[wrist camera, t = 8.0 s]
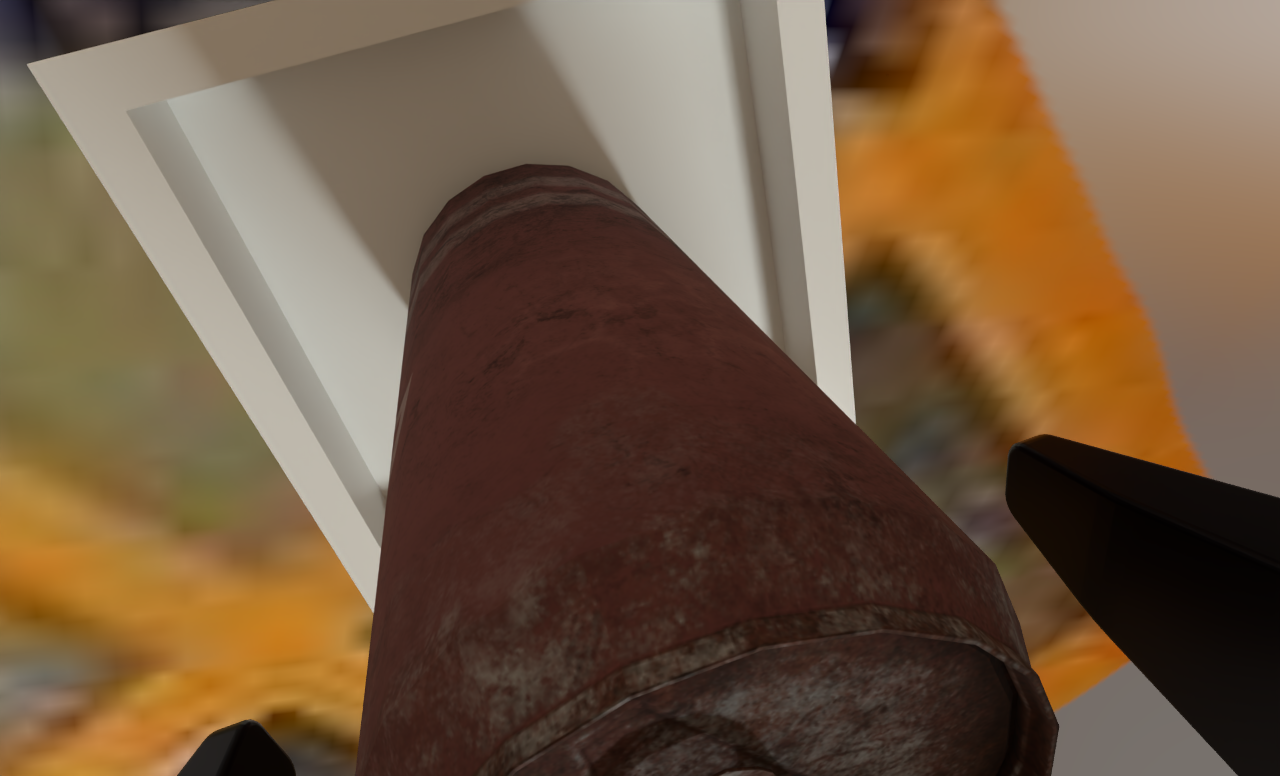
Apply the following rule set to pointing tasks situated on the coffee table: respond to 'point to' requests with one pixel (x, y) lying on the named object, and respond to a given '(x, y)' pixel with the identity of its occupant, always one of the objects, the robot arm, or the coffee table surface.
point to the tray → (447, 183)
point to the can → (657, 533)
